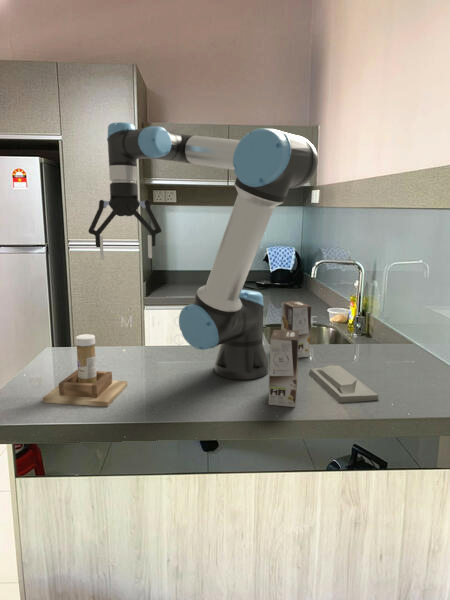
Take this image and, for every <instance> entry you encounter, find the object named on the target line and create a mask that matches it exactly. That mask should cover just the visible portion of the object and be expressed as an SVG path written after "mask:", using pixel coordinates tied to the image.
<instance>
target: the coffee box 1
mask: <svg viewBox="0 0 450 600" xmlns="http://www.w3.org/2000/svg"><path fill="white" fill-rule="evenodd" d="M311 314H312V306H311V305H309V304H307V303H304V302H302V301H300V300H293V301H292V300H291V301H290V300H289V301H282V302H281V318H280V319H281V324H280V325H281V326H280V327H281V328H280V330H296V331H299V347H298V359H300V358H309V357H310V349H311V348H310V347H311V346H310V344H311V343H310V342H311V323H312V322H311V320H312V319H311V318H312V317H311V316H312V315H311Z"/></svg>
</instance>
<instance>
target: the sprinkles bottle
mask: <svg viewBox="0 0 450 600" xmlns="http://www.w3.org/2000/svg"><path fill="white" fill-rule="evenodd" d="M74 342H75V346H76V356H77V357H76V362H77V365H76V366H77V370H78V380H79V383H92V384H94V383H95V382H96V371H97V360H96V359H97V358H96V346H95V345H96V336H95V335H94V334H91V333H90V334H88V333H84V334H79V335H77V336H75V340H74Z"/></svg>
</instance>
